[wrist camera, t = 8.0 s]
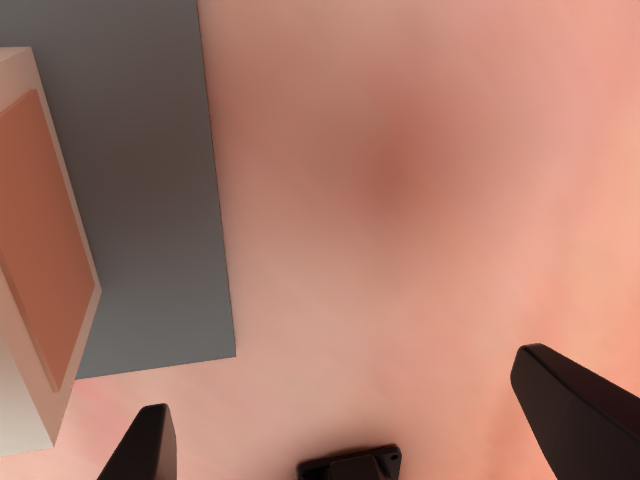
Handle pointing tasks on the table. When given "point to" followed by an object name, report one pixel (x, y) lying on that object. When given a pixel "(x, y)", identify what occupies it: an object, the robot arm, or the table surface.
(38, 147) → the cream rectangular block
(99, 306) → the charcoal mat
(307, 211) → the table surface
